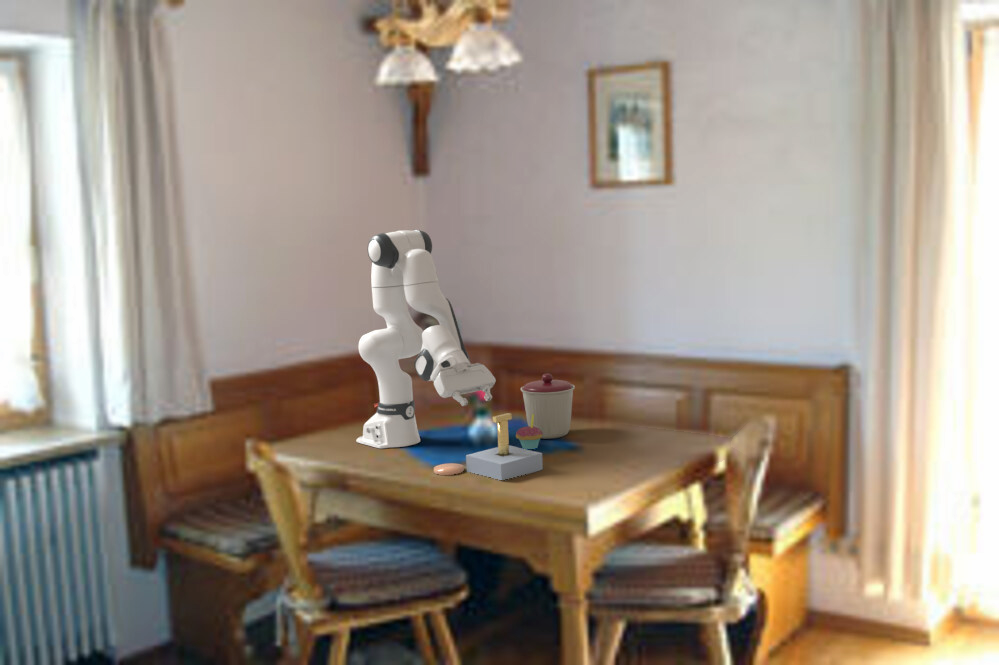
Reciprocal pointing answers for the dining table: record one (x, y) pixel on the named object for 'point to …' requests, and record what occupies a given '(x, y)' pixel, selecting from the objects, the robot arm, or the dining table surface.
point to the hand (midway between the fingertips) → (477, 402)
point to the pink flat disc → (448, 469)
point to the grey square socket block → (504, 463)
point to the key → (503, 433)
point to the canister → (549, 405)
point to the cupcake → (529, 436)
